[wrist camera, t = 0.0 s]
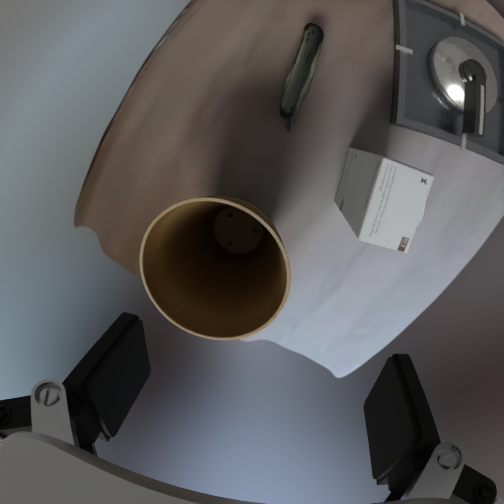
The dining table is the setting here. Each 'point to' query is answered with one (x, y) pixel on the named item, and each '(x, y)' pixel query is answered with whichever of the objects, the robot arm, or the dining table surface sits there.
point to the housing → (423, 87)
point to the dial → (464, 81)
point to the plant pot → (215, 267)
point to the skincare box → (382, 199)
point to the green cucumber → (301, 73)
